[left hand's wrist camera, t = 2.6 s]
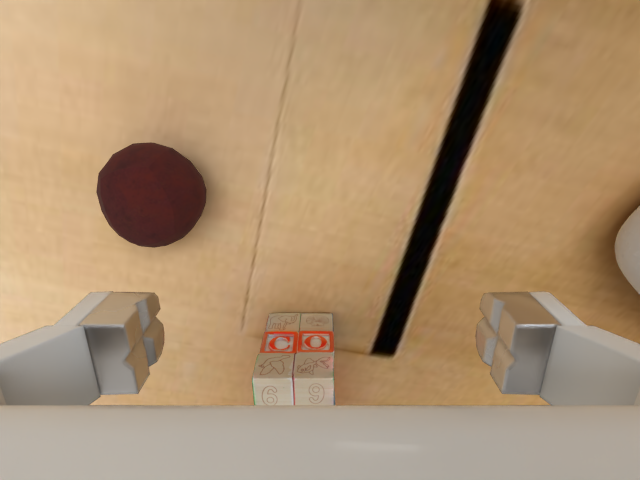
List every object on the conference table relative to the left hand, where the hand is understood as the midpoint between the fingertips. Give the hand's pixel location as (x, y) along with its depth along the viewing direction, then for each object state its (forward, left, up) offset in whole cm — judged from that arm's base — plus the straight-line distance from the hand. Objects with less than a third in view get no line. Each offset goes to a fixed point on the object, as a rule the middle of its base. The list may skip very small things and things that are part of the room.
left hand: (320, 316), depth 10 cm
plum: (+13, -1, -24) cm, 27 cm away
